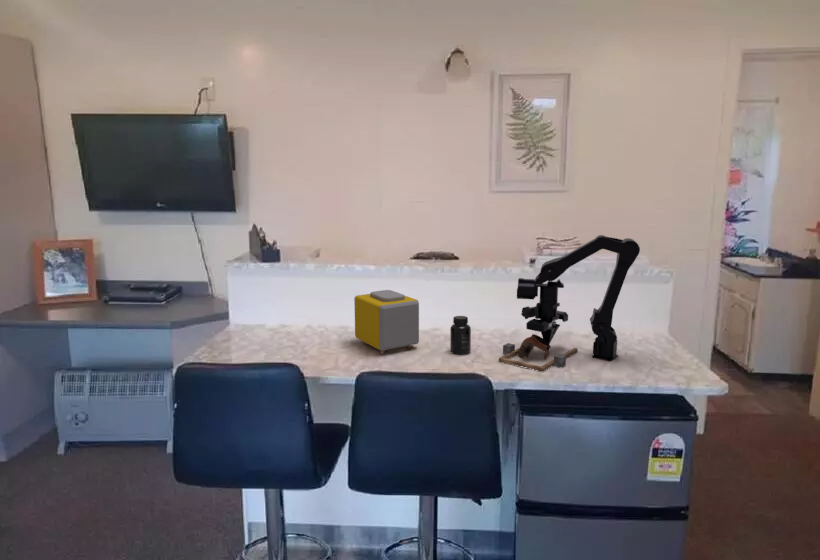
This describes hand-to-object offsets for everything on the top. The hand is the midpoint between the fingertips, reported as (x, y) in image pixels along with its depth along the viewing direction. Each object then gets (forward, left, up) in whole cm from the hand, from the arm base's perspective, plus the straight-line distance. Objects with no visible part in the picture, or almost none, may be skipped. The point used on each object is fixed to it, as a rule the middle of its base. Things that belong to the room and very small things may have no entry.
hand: (546, 345), depth 200 cm
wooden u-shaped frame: (0, +5, -2) cm, 6 cm away
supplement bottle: (+23, +17, -3) cm, 29 cm away
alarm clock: (+47, +27, -3) cm, 54 cm away
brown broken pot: (+2, +7, -3) cm, 8 cm away
